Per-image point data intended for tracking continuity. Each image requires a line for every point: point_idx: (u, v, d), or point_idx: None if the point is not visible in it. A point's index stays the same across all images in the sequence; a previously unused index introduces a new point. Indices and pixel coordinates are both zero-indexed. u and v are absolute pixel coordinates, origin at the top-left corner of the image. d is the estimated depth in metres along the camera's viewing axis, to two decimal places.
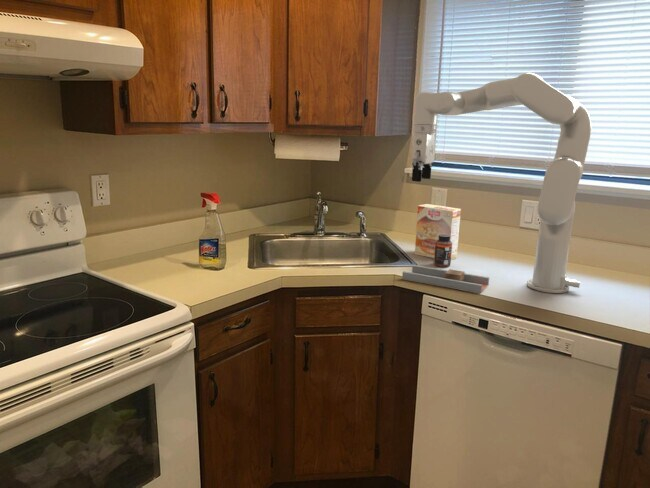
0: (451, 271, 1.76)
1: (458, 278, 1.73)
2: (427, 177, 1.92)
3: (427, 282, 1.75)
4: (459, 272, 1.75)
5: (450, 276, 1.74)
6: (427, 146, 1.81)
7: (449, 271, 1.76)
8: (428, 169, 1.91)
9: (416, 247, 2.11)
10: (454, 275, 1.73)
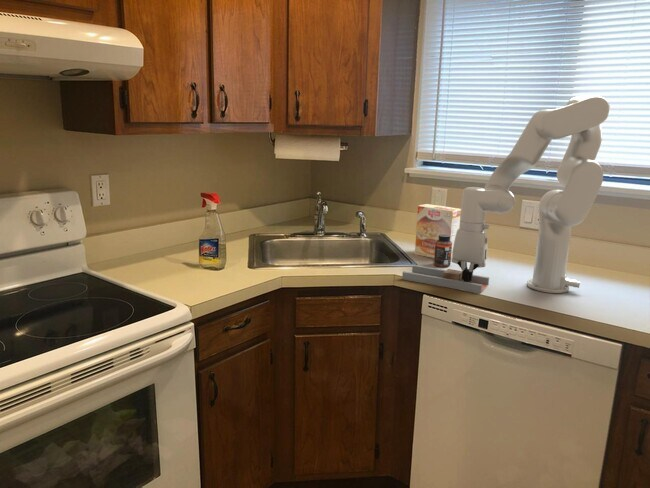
0: (449, 271, 1.77)
1: (456, 277, 1.73)
2: None
3: (427, 282, 1.75)
4: (457, 272, 1.76)
5: (448, 275, 1.74)
6: None
7: (447, 271, 1.77)
8: None
9: (416, 247, 2.11)
10: (453, 274, 1.73)
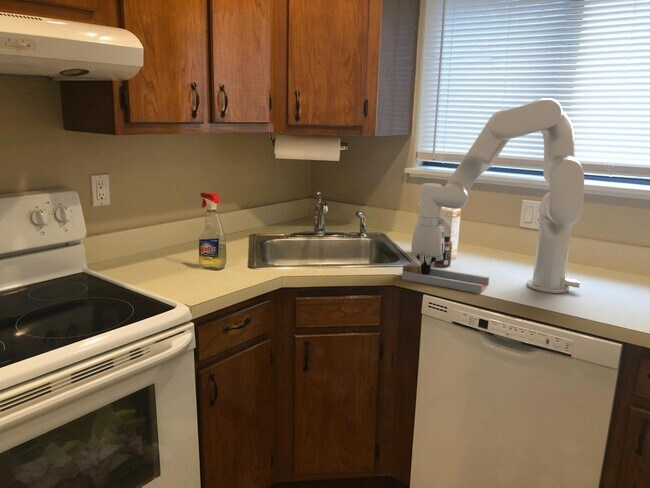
0: (409, 264, 1.83)
1: (415, 270, 1.79)
2: None
3: (427, 282, 1.75)
4: (417, 265, 1.82)
5: (408, 269, 1.80)
6: None
7: (407, 264, 1.83)
8: None
9: None
10: (412, 267, 1.80)
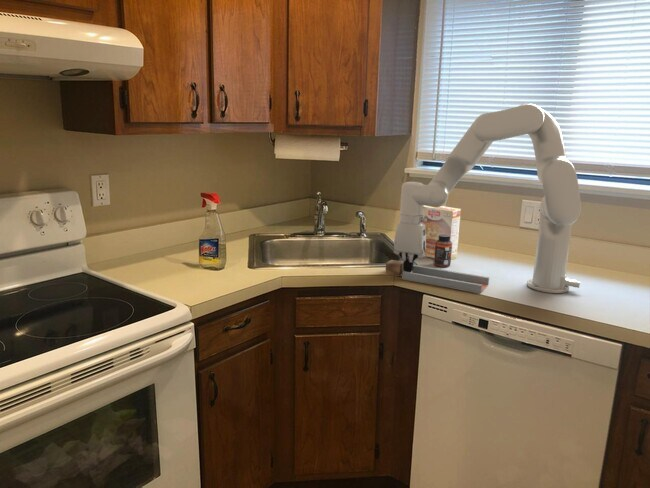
0: (392, 261, 1.86)
1: (398, 268, 1.82)
2: None
3: (427, 282, 1.75)
4: (399, 262, 1.85)
5: (390, 266, 1.84)
6: None
7: (390, 261, 1.86)
8: None
9: None
10: (394, 265, 1.83)
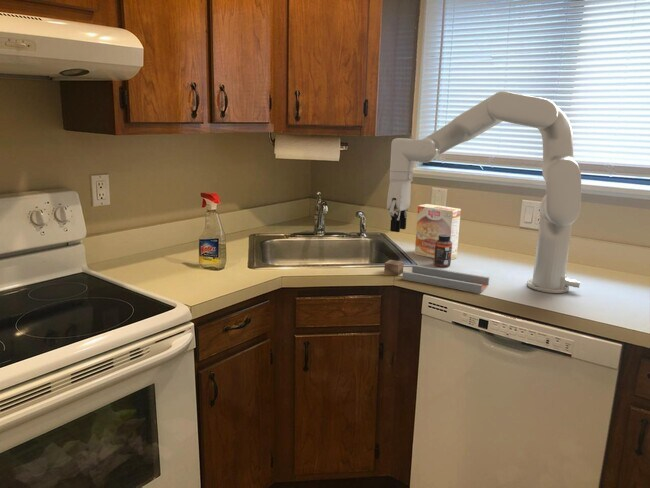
0: (391, 261, 1.86)
1: (396, 268, 1.83)
2: None
3: (427, 282, 1.75)
4: (398, 262, 1.85)
5: (389, 266, 1.84)
6: None
7: (389, 261, 1.86)
8: None
9: (416, 247, 2.11)
10: (393, 264, 1.83)
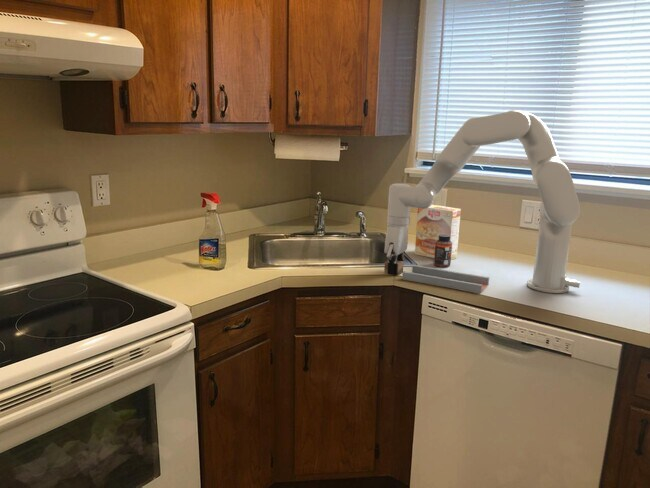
0: None
1: None
2: None
3: (427, 282, 1.75)
4: (398, 261, 1.86)
5: None
6: None
7: None
8: None
9: (416, 247, 2.11)
10: None
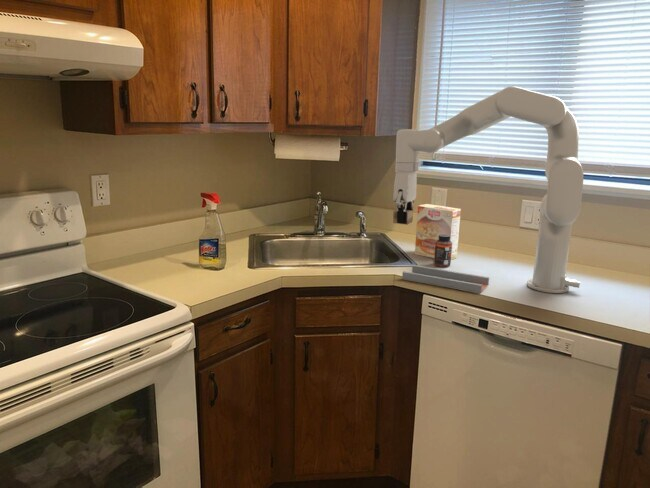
0: None
1: None
2: None
3: (427, 282, 1.75)
4: (407, 210, 1.81)
5: None
6: None
7: None
8: None
9: (416, 247, 2.11)
10: None
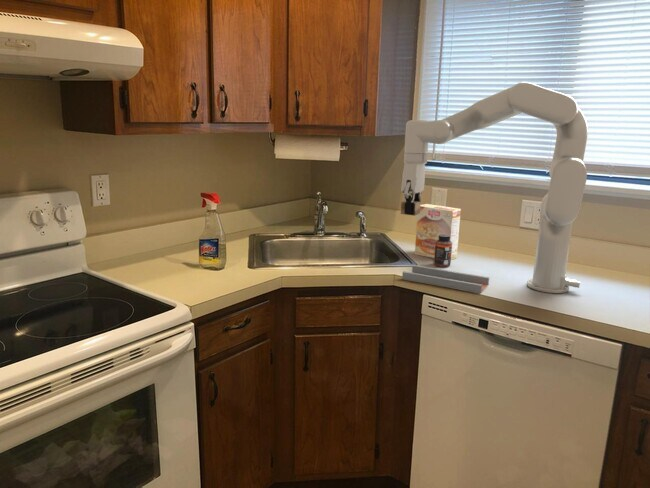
0: None
1: None
2: None
3: (427, 282, 1.75)
4: (415, 202, 1.81)
5: None
6: None
7: None
8: None
9: (416, 247, 2.11)
10: None
